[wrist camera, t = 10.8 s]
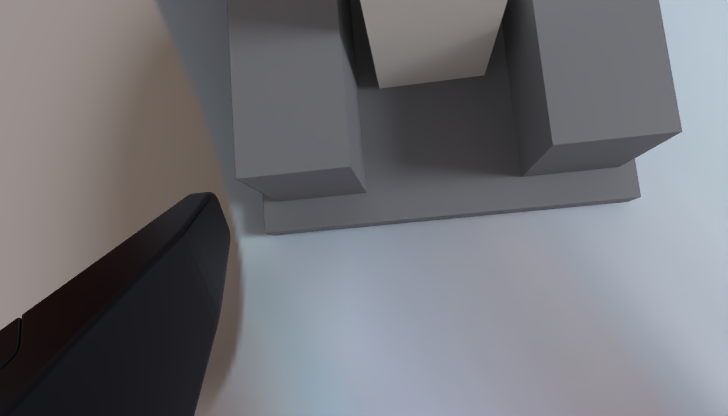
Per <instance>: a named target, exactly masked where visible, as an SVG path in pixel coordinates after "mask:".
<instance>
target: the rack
mask: <svg viewBox="0 0 728 416" xmlns="http://www.w3.org/2000/svg"><path fill="white" fill-rule="evenodd" d="M227 9H228V30H229V50H230V71H231V92H232V112H233V133H234V154H235V174H236V179H237V180H239V181H241V182H242V183H244V184H246V185H248V186H250V187H252V188H253V189H255V190H257V191H259V192H261V193H263V207H264V225H265V233H267V234H271V235H281V234H292V233H302V232H313V231H324V230H334V229H345V228H355V227H366V226H376V225H387V224H397V223H408V222H418V221H429V220H439V219H450V218H461V217H471V216H482V215H492V214H503V213H513V212H524V211H534V210H545V209H555V208H566V207H576V206H587V205H597V204H608V203H619V202H628V201H631V200H634V199H636V198H639V197H641V195H640V189H639V182H638V176H637V170H636V164H635V158H636V157H638V156H640V155H641V154H643V153H645V152H647V151H648V150H650V149H652V148H654V147H655V146H657V145H659V144H661V143H663V142H664V141H666V140H668V139H670V138H671V137H673V136H675V135H677V134H678V133H680V132H682V128H681V122H680V117H679V111H678V106H677V100H676V94H675V89H674V83H673V77H672V72H671V66H670V61H669V55H668V49H667V44H666V38H665V32H664V27H663V21H662V16H661V10H660V4H659V0H508V1H507V4H506V7H505V10H504V14H503V17H502V20H501V23H500V27H499V30H498V33H497V36H496V40H495V43H494V46H493V49H492V53H491V56H490V59H489V62H488V65H487V69H486V72H485V75H482V76H474V77H467V78H459V79H451V80H443V81H435V82H427V83H420V84H412V85H404V86H396V87H388V88H381V89H379V84H378V80H377V75H376V71H375V66H374V61H373V57H372V52H371V48H370V43H369V39H368V34H367V30H366V25H365V20H364V16H363V11H362V7H361V2H360V0H227Z"/></svg>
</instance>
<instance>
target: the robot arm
mask: <svg viewBox="0 0 728 416" xmlns="http://www.w3.org/2000/svg"><path fill="white" fill-rule="evenodd" d="M229 247H230V231H229V227H228V225H227V222H226V219H225V217H224V214H223V211H222V209H221V206H220V203H219V201H218V198H217V197H216V195H215V194H213V193H211V192H205V193H195V194H190V195H188V196H187V197H185V198H184V199H183V200H181V201H180V202H178V203H177V204H176V205H174V206H173V207H172V208H170V209H169V210H167V211H166V212H164V213H163V214H162V215H160V216H159V217H157V218H156V219H155V220H153V221H152V222H150V223H149V224H148V225H146V226H145V227H144V228H142V229H141V230H140V231H138V232H137V233H135V234H134V235H132V236H131V237H130V238H128V239H127V240H125V241H124V242H123V243H121V244H120V245H119V246H117V247H116V248H115V249H113V250H112V251H110V252H109V253H107V254H106V255H105V256H103V257H102V258H100V259H99V260H98V261H96V262H95V263H93V264H92V265H91V266H90V267H88V268H87V269H85V270H84V271H82V272H81V273H80V274H78V275H77V276H75V277H74V278H73V279H71V280H70V281H68V282H67V283H66V284H64V285H63V286H62V287H61V288H59V289H57V290H56V291H55V292H53V293H52V294H51V295H49V296H48V297H46V298H45V299H44V300H42V301H41V302H39V303H38V304H36V305H35V306H34V307H33V308H31V309H30V310H28V311H27V312H25V313H24V314H23V315H22V319H21V318H17V319H15V320H14V321H13V322H11V323H10V324H8V325H7V326H6V327H5V328H3V329H2V330H0V416H194V414H195V410H196V407H197V402H198V399H199V395H200V391H201V387H202V383H203V379H204V376H205V372H206V368H207V364H208V360H209V357H210V353H211V349H212V345H213V341H214V337H215V334H216V330H217V326H218V322H219V317H220V312H221V306H222V299H223V292H224V285H225V276H226V270H227V269H226V268H227V262H228V255H229Z"/></svg>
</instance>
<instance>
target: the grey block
mask: <svg viewBox="0 0 728 416" xmlns="http://www.w3.org/2000/svg"><path fill="white" fill-rule="evenodd" d="M507 1H508V0H360V2H361V7H362V11H363V16H364V20H365V25H366V30H367V34H368V39H369V43H370V48H371V52H372V57H373V61H374V66H375V71H376V75H377V80H378V84H379V89H381V88H388V87H396V86H404V85H412V84H420V83H427V82H435V81H443V80H451V79H459V78H467V77H474V76H482V75H485V72H486V69H487V65H488V62H489V59H490V56H491V53H492V49H493V46H494V43H495V40H496V36H497V33H498V30H499V27H500V23H501V20H502V17H503V14H504V10H505V7H506V4H507Z"/></svg>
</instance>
